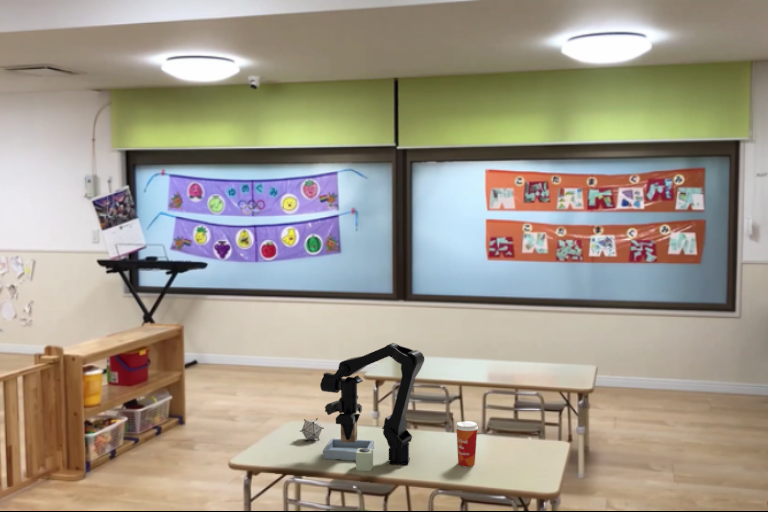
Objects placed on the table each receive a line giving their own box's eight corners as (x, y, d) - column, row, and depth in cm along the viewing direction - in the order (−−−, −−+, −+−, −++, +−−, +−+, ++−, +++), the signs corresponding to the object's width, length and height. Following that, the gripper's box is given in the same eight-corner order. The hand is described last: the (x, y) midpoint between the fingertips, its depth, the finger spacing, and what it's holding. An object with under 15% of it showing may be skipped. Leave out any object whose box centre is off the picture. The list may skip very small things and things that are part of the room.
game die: (315, 450, 286) (318, 434, 280) (294, 441, 288) (298, 425, 282) (324, 433, 293) (328, 417, 287) (305, 424, 295) (308, 408, 288)
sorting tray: (374, 448, 277) (374, 440, 277) (367, 461, 263) (367, 452, 263) (331, 446, 279) (331, 438, 279) (322, 458, 266) (322, 450, 265)
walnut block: (357, 438, 273) (357, 421, 273) (354, 442, 268) (354, 425, 268) (343, 437, 274) (343, 420, 274) (340, 442, 269) (340, 424, 269)
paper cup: (451, 461, 263) (451, 422, 262) (470, 459, 266) (471, 419, 265) (462, 469, 256) (462, 428, 255) (482, 466, 259) (482, 425, 258)
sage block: (373, 466, 259) (373, 448, 258) (370, 471, 254) (370, 452, 253) (358, 465, 259) (358, 447, 259) (355, 470, 254) (355, 452, 254)
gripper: (332, 387, 280) (332, 429, 281) (321, 399, 262) (321, 444, 263) (362, 388, 279) (362, 430, 280) (352, 401, 260) (352, 445, 261)
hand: (349, 437), depth 271 cm, fingers closed on walnut block, 5 cm apart
